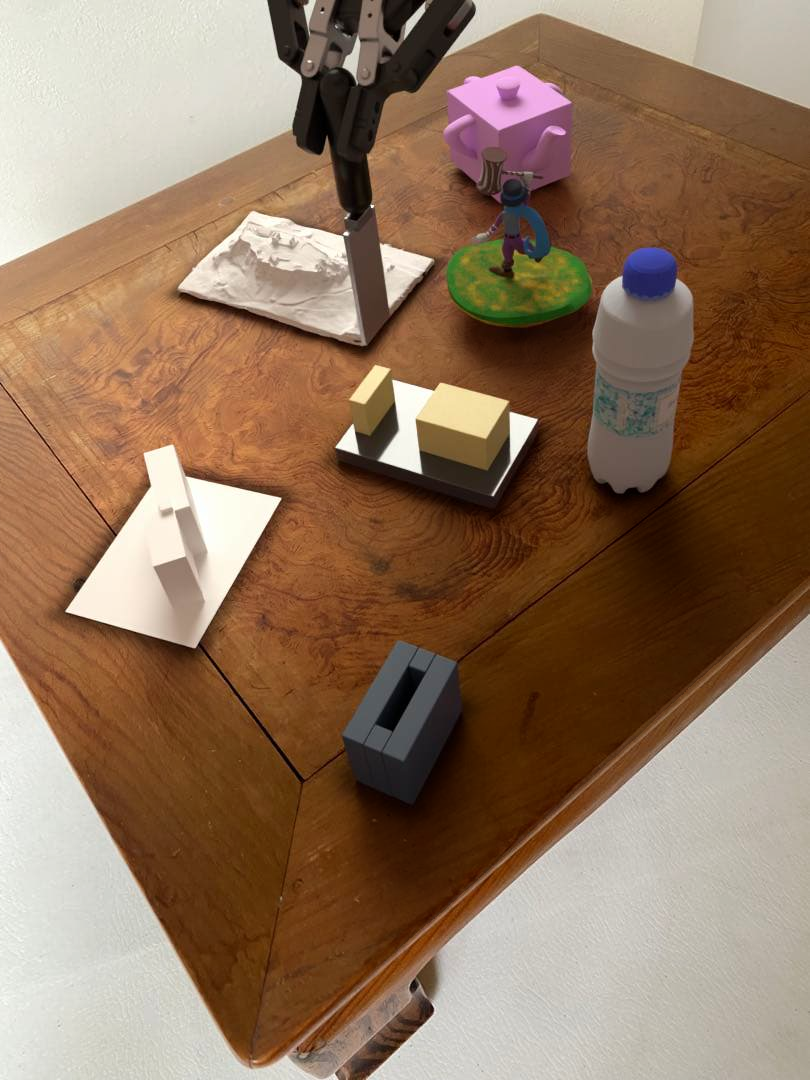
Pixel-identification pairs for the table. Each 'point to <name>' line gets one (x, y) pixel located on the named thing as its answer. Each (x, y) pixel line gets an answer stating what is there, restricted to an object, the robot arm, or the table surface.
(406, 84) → the robot arm
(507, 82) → the teapot
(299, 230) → the terrain model
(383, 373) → the butter pat
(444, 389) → the butter block
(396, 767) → the knife stand
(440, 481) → the board
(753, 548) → the table surface
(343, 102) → the knife
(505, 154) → the figurine
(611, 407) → the bottle
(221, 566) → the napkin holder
